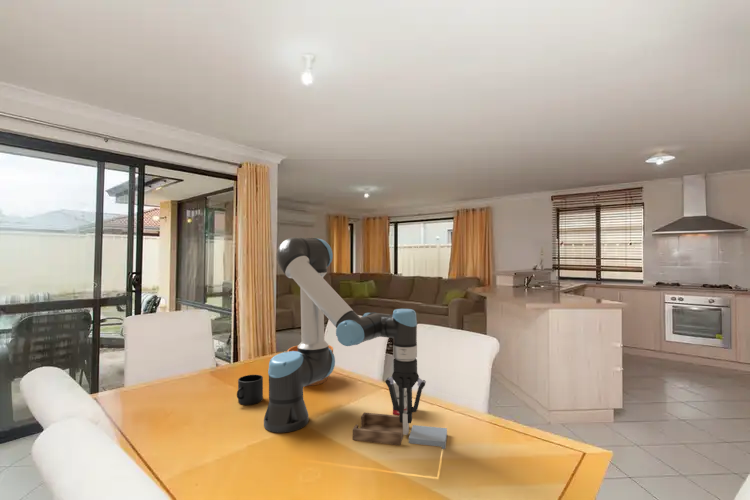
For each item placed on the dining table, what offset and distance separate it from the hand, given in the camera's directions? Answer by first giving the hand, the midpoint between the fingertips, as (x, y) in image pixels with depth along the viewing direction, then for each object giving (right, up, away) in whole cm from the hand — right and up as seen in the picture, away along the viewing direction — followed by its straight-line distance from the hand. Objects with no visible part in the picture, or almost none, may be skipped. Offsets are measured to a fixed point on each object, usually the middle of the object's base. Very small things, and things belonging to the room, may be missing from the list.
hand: (405, 432), depth 120 cm
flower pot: (-40, -3, +55) cm, 68 cm away
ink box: (0, -2, +20) cm, 20 cm away
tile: (+7, -2, -2) cm, 7 cm away
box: (-8, -2, +2) cm, 8 cm away
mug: (-60, -3, +31) cm, 68 cm away
